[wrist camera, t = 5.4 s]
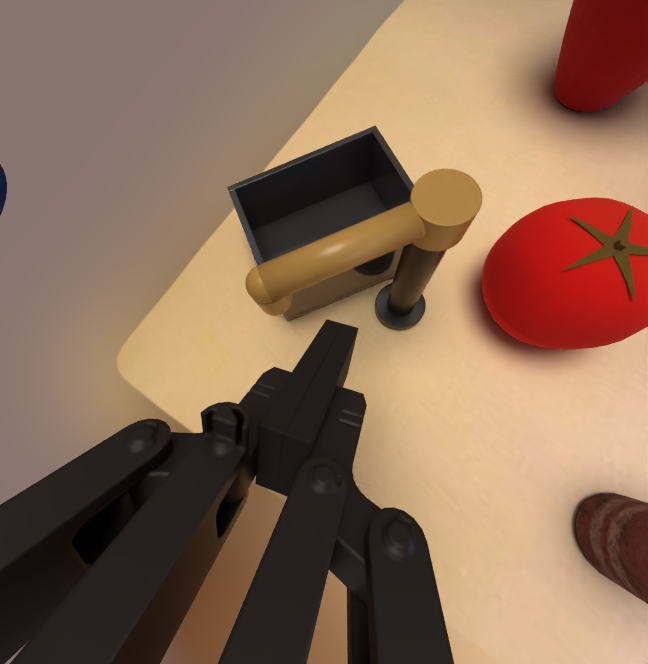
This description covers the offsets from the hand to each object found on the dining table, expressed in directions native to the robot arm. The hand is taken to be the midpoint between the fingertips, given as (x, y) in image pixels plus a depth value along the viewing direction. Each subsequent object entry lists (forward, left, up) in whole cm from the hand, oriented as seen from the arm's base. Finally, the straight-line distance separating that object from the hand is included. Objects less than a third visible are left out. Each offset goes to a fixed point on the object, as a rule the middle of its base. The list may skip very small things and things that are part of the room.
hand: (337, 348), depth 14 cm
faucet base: (-5, +8, -15) cm, 17 cm away
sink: (-14, +5, -15) cm, 21 cm away
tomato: (0, +20, -15) cm, 25 cm away
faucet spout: (-5, +3, -2) cm, 6 cm away
